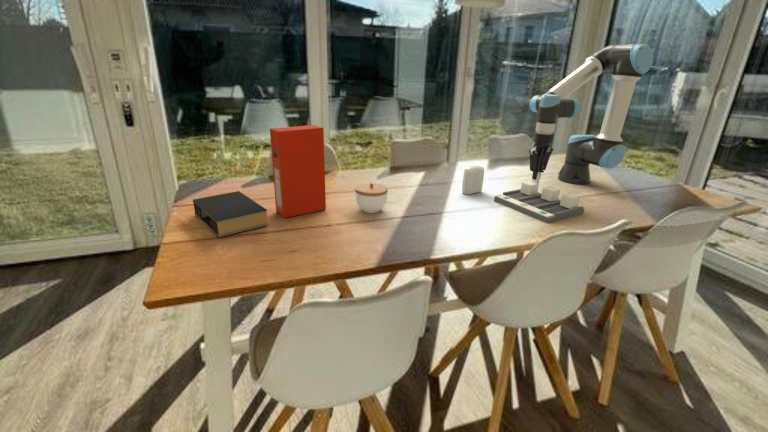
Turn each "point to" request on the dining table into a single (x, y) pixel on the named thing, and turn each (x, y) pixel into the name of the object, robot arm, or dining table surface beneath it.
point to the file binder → (298, 169)
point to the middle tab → (550, 194)
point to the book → (230, 213)
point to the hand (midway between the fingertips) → (534, 186)
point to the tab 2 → (569, 200)
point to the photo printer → (473, 179)
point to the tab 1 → (529, 188)
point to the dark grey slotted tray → (537, 206)
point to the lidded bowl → (371, 197)
